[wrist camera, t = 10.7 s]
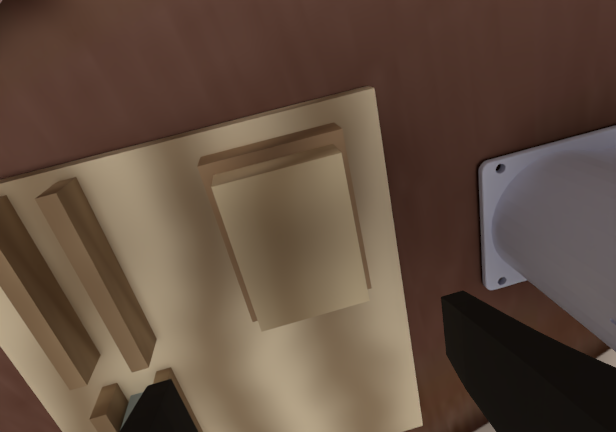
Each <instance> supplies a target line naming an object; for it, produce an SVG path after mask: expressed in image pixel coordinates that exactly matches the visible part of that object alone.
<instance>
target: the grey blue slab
mask: <svg viewBox="0 0 616 432" xmlns="http://www.w3.org/2000/svg"><path fill="white" fill-rule="evenodd" d="M142 393H143V392H142ZM142 393H138V394H135V395H131V397H130V400H129V403H128V406H127V410H126V413H125V416H124V419H123V423H122V426H123V425H124V423H125V421H126V420H127V418H128V416H129V415H130V413H131V411H132V410H133V408H134V406H135V405H136V403H137V401H138V400H139V398H140V397H141V395H142ZM122 426H121V428H122ZM120 430H121V429H120Z"/></svg>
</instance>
